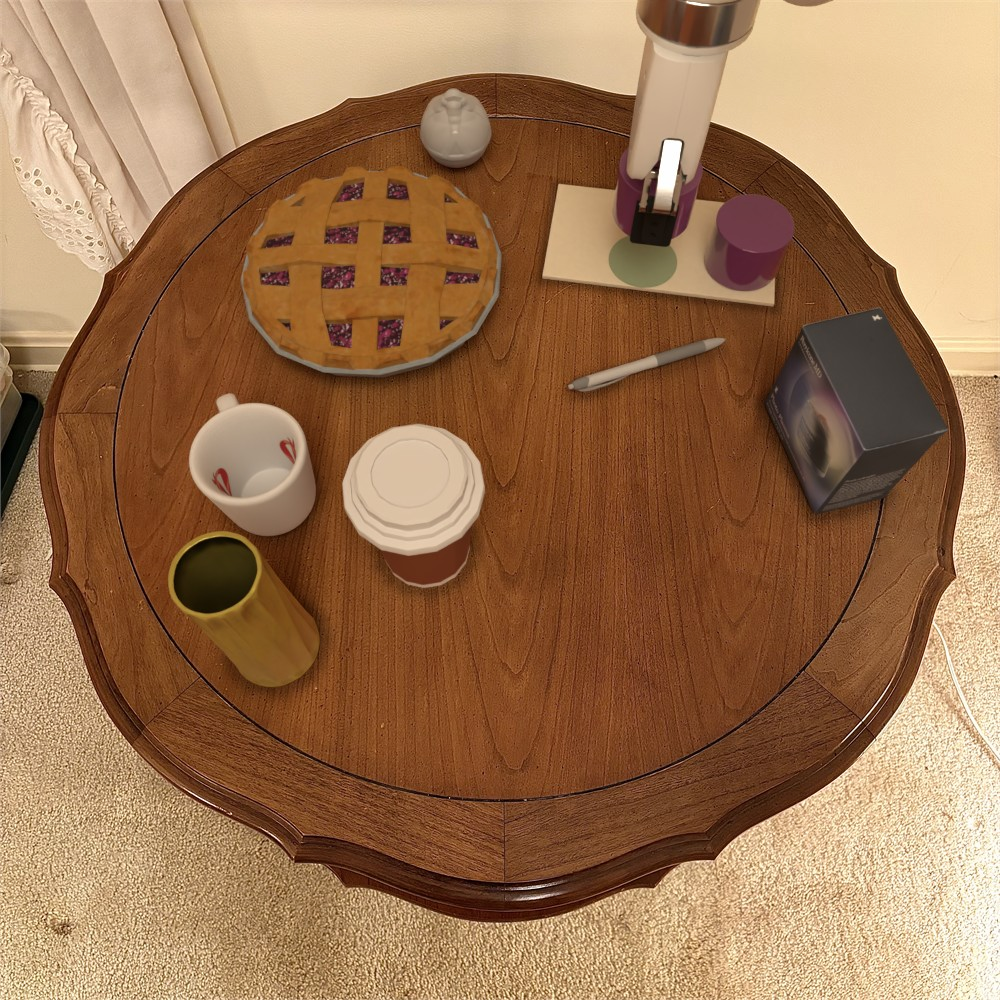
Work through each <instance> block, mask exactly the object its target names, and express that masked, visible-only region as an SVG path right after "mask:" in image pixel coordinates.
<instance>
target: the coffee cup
mask: <svg viewBox="0 0 1000 1000" xmlns="http://www.w3.org/2000/svg"><path fill="white" fill-rule="evenodd" d="M341 488H342V498H343V499H342V500H343V509H344V512H345V514H346V515H347V517H348V519H349V520H350V523H352V526H353V528H354V529H355V530H356V532H357V534H358V535H359V536H360V537H361V538H363V539H365V540H366V541H367V542H369V543H370V544H372V545H373V546H374V547H376V548H378V550H379V552H380V553H381V555H382V557H383V559H384V561H385V563H386V565H387V566H388V568H389V570H390V571H391V573H392V575H393V576H394V577H396V578H397V579H399V580H400V581H401V582H403V583H405V584H406V585H409V586H413V587H417V588H422V589H426V588H433V587H439V586H442V585H444V584H446V583H448V582H449V581H451V580H452V579H454V578H456V577H457V576H458V575H459V573H460V572H461V571H462V570H463V568H464V567H465V566H466V565H467V561H468V558H469V553H470V551H471V538H472V528H473V524H474V523H475V522H476V520H477V519H478V518H479V516H480V513H481V509H482V506H483V501H484V498H485V494H486V485H485V479H484V473H483V468H482V463H481V462H480V460H479V458H478V457H477V455H475V453H474V451H473V450H472V449H471V447H470V445H469V444H468V442H466V441H465V440H463V439H461V438H460V437H458V436H457V435H455V434H453V433H451V432H450V431H449V430H447V429H445V428H443V427H437V426H433V425H427V424H423V423H414V424H407V425H406V424H405V425H400V426H393V427H390V428H388V429H386V430H384V431H382V432H380V433H379V434H377V435H374V436H373V437H371V438H369V439H367V441H366V442H364V443H363V445H362V446H361V447H360V448H359V449H358V450H357V452H355V454H354V455H353V456H352V457H351V458H350V460H349V463H348V466H347V468H346V471H345V474H344V477H343V480H342V483H341Z"/></svg>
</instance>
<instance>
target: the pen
mask: <svg viewBox="0 0 1000 1000" xmlns="http://www.w3.org/2000/svg"><path fill="white" fill-rule="evenodd" d="M726 340H727V339H726V338H723V337H711V338H707V339H702V340H697V341H694V342H691V343H688V344H685V345H681V346H678V347H675V348H671V349H667V350H665V351H662V352H659V353H655V354H652V355H649V356H647V357H644V358H640V359H637V360H633V361H631V362H630V361H629V362H627V363H624V364H620V365H618V366H614V367H610V368H608V369H604V370H601V371H598V372H594V373H591V374H588V375H584V376H581V377H579V378H576V379H574V380H573V381H571V383H570V384H568V385H567V388H568V390H574V391H579V392H590V391H595V390H598V389H600V388H603V387H607V386H610V385H612V384H614V383H615V384H616V383H617V382H619V381H621V380H623V379H625V378H627V377H628V376H630V375H634V374H636V373H641V372H643V371H647V370H651V369H654V368H659V367H661V366H665V365H668V364H671V363H674V362H677V361H681V360H684V359H688V358H690V357H693V356H697V355H700V354H703V353H705V352H709V351H711V350H713V349H715V348H717V347H719V346H721V345H722V344H724V342H725V341H726Z"/></svg>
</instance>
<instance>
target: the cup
mask: <svg viewBox="0 0 1000 1000" xmlns="http://www.w3.org/2000/svg"><path fill="white" fill-rule="evenodd" d="M215 403H216V407H217V409H218V413H217V414H215V415H213V416H212V417H211V418H210V419H208V420H207V421H206V422H205V423H204V424H203V425H202V427H200V429H199V430H198V432H197V433H196V435H195V437H194V439H193V440H192V443H191V446H190V450H189V457H188V467H189V471H190V475H191V477H192V480H193V483H194V484H195V486H196V487H197V488H198V490H199V491H200V492H201V493H202V494H203V495H204V496H205V497H206V498H208V499H209V500H210V501H211V502H212V503H213V504H214V505H215V506H216V507H217V508H218V509H219V510H220V511H222V513H224V514H225V515H226V516H227V518H229V519H230V520H231V521H232V522H233V523H234V524H235V525H236V526H238V527H239V528H241V529H242V530H243V531H246V532H248V533H250V534H253V535H257V536H262V537H274V536H280V535H283V534H286V533H289V532H291V531H293V530H294V529H296V528H297V527H299V526H300V525H301V524H302V523H303V522H304V521H305V520H306V519H307V518H308V516H309V515H310V513H311V512H312V509H313V507H314V505H315V501H316V497H317V496H316V495H317V494H316V493H317V483H316V477H315V475H314V471H313V464H312V461H311V460H312V459H311V455H310V451H309V447H308V442H307V438H306V434H305V432H304V430H303V428H302V427H301V425H300V423H299V422H298V421H297V420H296V418H294V416H292V415H291V414H290V413H288V412H287V411H286V410H284V409H282V408H280V407H278V406H276V405H272V404H269V403H263V402H262V403H261V402H248V403H247V402H246V403H241V404H240V402H239V400H238V398H237V397H236V395H235V394H234V393H229V392H228V393H226V394H222V395H221V396H219V397H217V399H216V402H215Z"/></svg>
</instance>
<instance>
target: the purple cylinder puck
mask: <svg viewBox="0 0 1000 1000" xmlns="http://www.w3.org/2000/svg"><path fill="white" fill-rule="evenodd" d="M794 234H795V221H794V217H793V216H792V214H791V212H790V211H789V209H788V208H787V207H785V206H784V205H783V204H782V203H780V202H779V201H777V200H776V199H774V198H772V197H770V196H769V197H768V196H766V195H763V194H754V193H753V194H752V193H747V194H740V195H737V196H734V197H732V198H731V197H730V198H729V199H728V200H726V201H725V202H724V204H723V205H722V206H721V207H720V209H719V211H718V213H717V216H716V219H715V223H714V226H713V229H712V232H711V236H710V239H709V242H708V245H707V249H706V252H705V256H704V262H705V266H706V269H707V271H708V273H709V274H710V276H711V277H712V278H713V279H714V280H715V281H716V282H718V283H719V284H721V285H723V286H725V287H727V288H729V289H733V290H737V291H753V290H757V289H760V288H763V287H765V286H766V285H768V284H769V283H770V282H771V281H772V280H773V279H774V278H775V279H776V276H777V274H778V272H779V270H780V267H781V265H782V262H783V260H784V258H785V255H786V253H787V251H788V248H789V247H790V244H791V241H792V239H793V237H794Z"/></svg>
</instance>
